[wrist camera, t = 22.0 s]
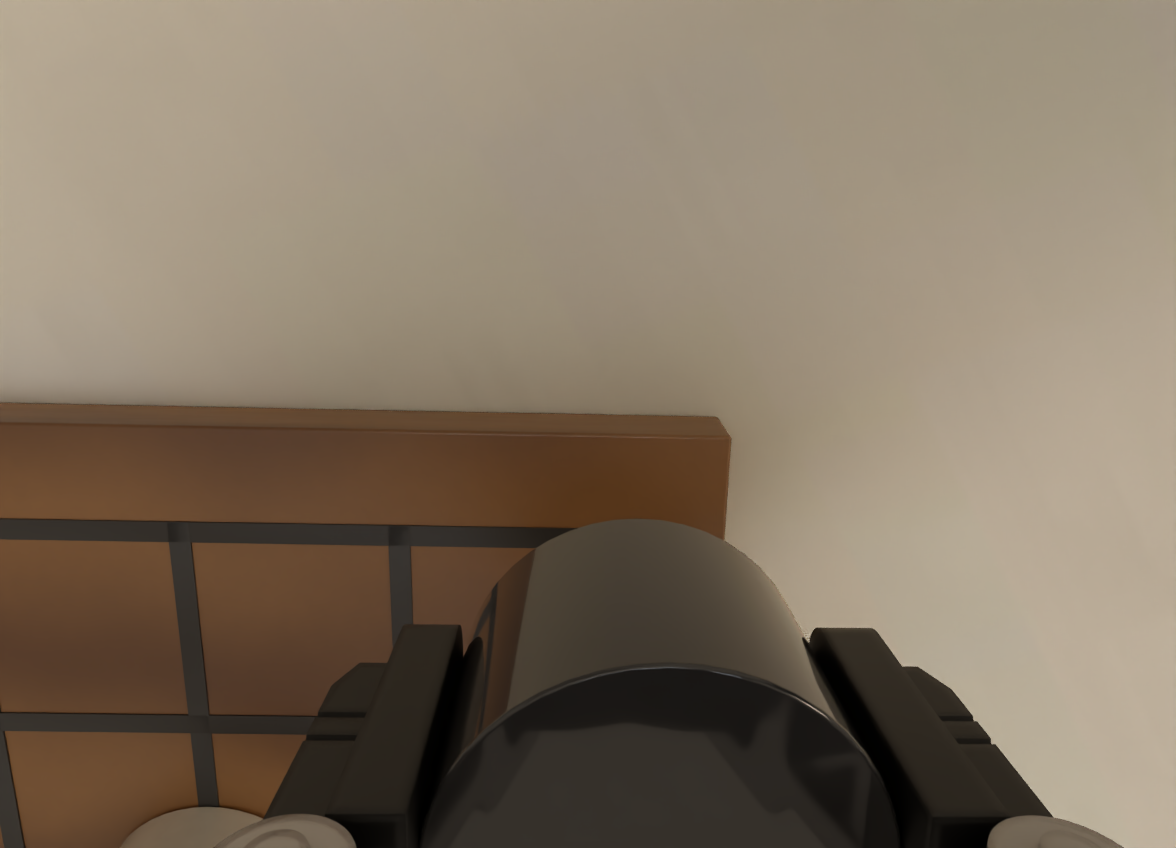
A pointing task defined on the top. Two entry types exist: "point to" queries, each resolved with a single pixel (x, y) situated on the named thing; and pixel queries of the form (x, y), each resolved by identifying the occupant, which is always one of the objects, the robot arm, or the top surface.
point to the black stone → (648, 708)
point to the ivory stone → (189, 828)
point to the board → (265, 577)
